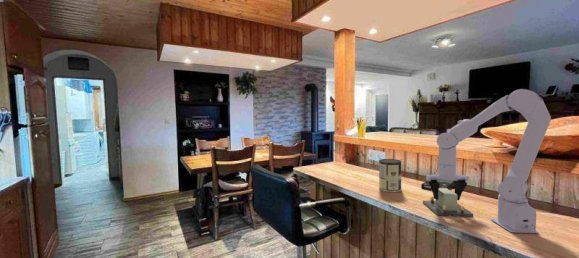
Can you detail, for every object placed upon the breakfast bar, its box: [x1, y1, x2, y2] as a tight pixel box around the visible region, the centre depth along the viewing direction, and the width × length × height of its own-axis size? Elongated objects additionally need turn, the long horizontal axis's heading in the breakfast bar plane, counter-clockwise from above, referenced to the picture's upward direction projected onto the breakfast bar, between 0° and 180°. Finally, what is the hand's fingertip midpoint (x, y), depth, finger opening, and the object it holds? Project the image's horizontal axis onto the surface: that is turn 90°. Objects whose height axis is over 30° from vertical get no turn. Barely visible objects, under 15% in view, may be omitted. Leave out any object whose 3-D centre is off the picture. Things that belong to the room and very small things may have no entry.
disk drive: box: [421, 180, 454, 191], centre depth 125 cm, size 10×3×15 cm
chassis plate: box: [422, 196, 474, 218], centre depth 97 cm, size 13×12×3 cm
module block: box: [435, 188, 458, 211], centre depth 97 cm, size 4×8×6 cm, turn 174°
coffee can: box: [378, 158, 402, 193], centre depth 123 cm, size 10×10×14 cm
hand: (446, 199), depth 97 cm, fingers open, 7 cm apart
